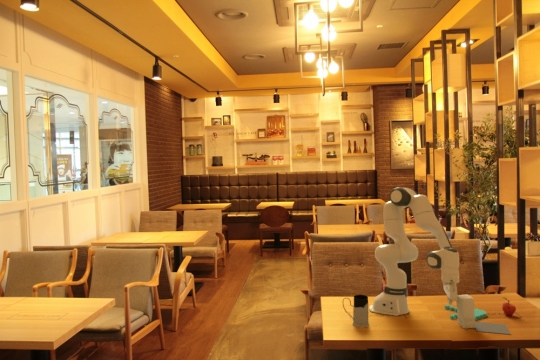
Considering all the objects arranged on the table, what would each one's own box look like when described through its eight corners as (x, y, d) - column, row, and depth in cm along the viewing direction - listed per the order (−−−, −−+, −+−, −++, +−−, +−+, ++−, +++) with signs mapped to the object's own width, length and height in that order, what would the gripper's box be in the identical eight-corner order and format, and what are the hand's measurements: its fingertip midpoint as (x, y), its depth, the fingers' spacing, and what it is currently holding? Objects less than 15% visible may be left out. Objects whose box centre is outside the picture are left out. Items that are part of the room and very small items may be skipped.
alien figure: (450, 320, 258) (489, 322, 254) (450, 316, 258) (489, 318, 254) (444, 308, 278) (481, 310, 274) (444, 304, 278) (481, 306, 274)
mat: (476, 331, 240) (476, 330, 240) (472, 322, 253) (472, 321, 253) (510, 334, 235) (510, 334, 235) (505, 325, 248) (505, 324, 248)
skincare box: (475, 328, 243) (474, 298, 243) (463, 329, 243) (461, 299, 243) (469, 322, 252) (468, 293, 251) (456, 323, 252) (455, 294, 251)
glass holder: (367, 328, 246) (367, 299, 245) (341, 325, 251) (340, 297, 250) (370, 322, 254) (370, 295, 254) (344, 319, 259) (344, 292, 259)
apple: (511, 313, 267) (511, 295, 266) (518, 317, 260) (518, 299, 259) (498, 313, 267) (498, 296, 266) (504, 317, 260) (504, 299, 259)
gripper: (460, 283, 238) (460, 310, 239) (452, 273, 258) (452, 298, 259) (447, 282, 239) (447, 309, 240) (440, 273, 259) (440, 298, 260)
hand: (450, 303), depth 249 cm, fingers closed
